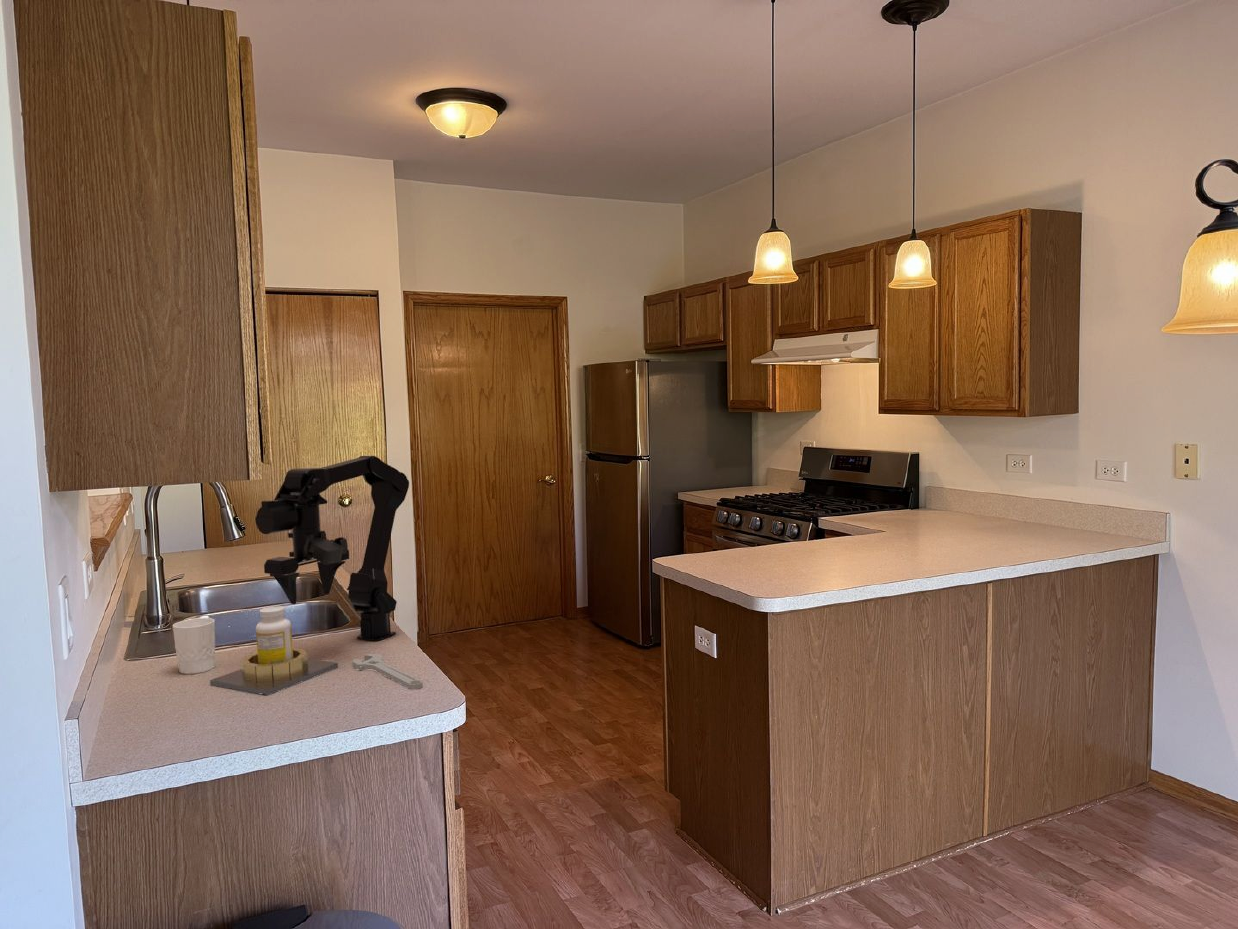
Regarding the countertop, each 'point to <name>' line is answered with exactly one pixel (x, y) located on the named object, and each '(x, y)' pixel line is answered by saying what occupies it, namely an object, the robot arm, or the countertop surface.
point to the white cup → (195, 645)
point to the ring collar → (273, 673)
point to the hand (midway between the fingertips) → (310, 599)
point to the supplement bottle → (274, 636)
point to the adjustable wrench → (387, 670)
